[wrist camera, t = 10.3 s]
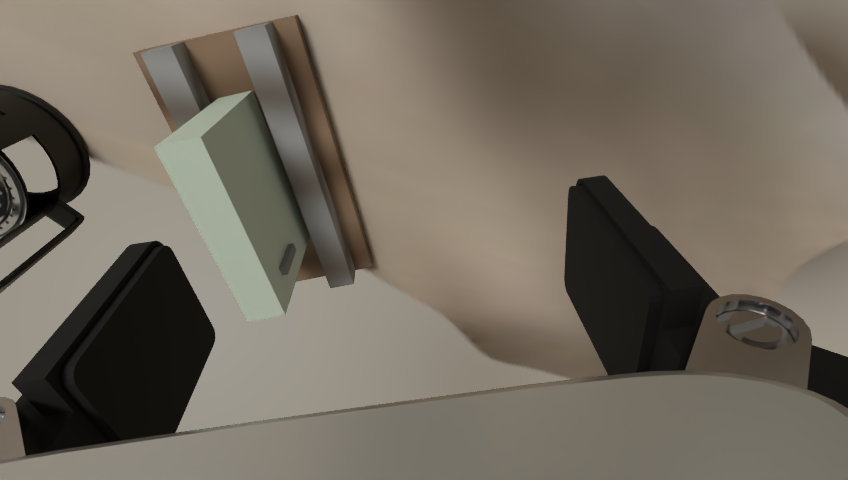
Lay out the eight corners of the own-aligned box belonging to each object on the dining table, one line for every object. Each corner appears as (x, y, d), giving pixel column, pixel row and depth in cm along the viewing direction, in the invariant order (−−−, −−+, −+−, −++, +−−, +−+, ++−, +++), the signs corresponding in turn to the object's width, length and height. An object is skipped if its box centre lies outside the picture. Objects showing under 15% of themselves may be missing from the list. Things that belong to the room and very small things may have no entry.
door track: (140, 50, 31) (117, 58, 28) (297, 14, 30) (288, 19, 28) (253, 283, 41) (244, 304, 39) (372, 260, 41) (371, 280, 38)
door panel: (218, 98, 32) (153, 147, 23) (258, 89, 32) (207, 135, 23) (280, 241, 38) (247, 322, 30) (314, 234, 38) (291, 313, 29)
